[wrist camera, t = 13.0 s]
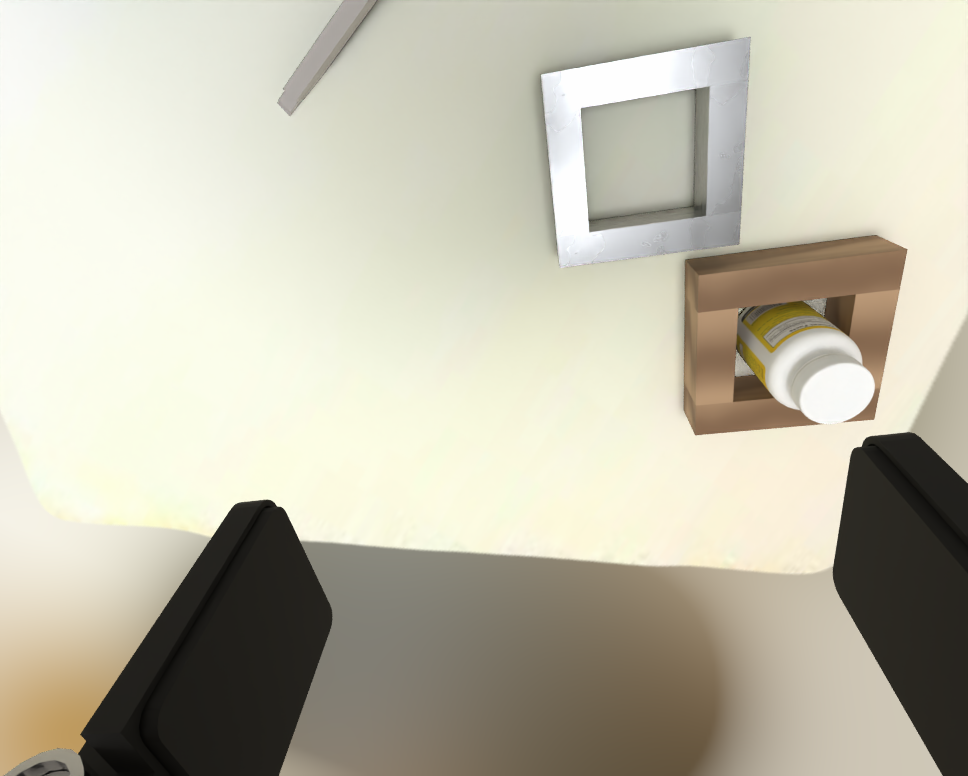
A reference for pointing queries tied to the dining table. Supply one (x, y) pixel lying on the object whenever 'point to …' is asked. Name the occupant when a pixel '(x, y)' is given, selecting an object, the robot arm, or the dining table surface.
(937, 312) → the dining table surface
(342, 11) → the caliper
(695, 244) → the socket block
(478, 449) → the dining table surface
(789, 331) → the supplement bottle
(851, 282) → the block
